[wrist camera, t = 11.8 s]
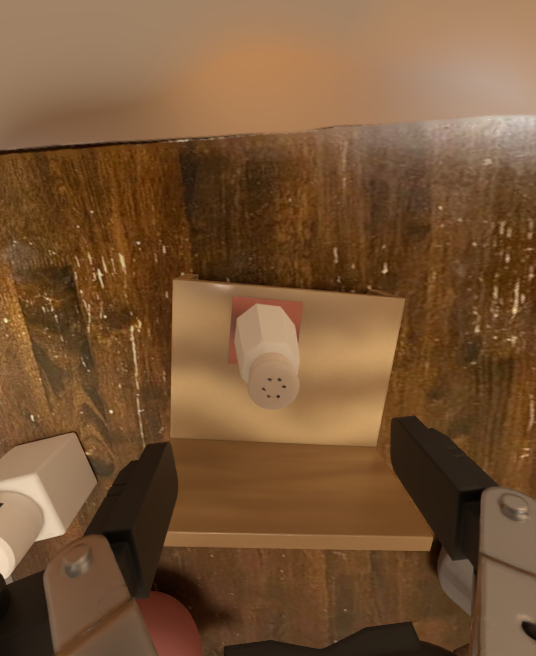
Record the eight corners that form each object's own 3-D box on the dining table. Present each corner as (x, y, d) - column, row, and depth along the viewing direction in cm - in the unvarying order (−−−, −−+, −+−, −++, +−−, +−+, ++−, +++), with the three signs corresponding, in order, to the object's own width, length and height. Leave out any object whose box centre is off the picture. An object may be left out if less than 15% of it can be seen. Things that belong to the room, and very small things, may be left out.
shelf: (186, 273, 31) (126, 297, 16) (378, 289, 33) (491, 326, 18) (182, 415, 35) (131, 546, 20) (354, 424, 37) (430, 551, 21)
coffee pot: (523, 522, 42) (666, 666, 28) (485, 586, 45) (598, 749, 30) (379, 491, 40) (454, 632, 25) (347, 560, 42) (399, 725, 28)
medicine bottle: (40, 496, 37) (-56, 610, 25) (14, 445, 35) (-102, 542, 23) (99, 482, 37) (30, 589, 25) (76, 430, 35) (-10, 520, 23)
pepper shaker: (275, 372, 28) (290, 448, 17) (221, 344, 27) (203, 406, 16) (307, 321, 27) (344, 369, 16) (252, 290, 26) (254, 319, 15)
